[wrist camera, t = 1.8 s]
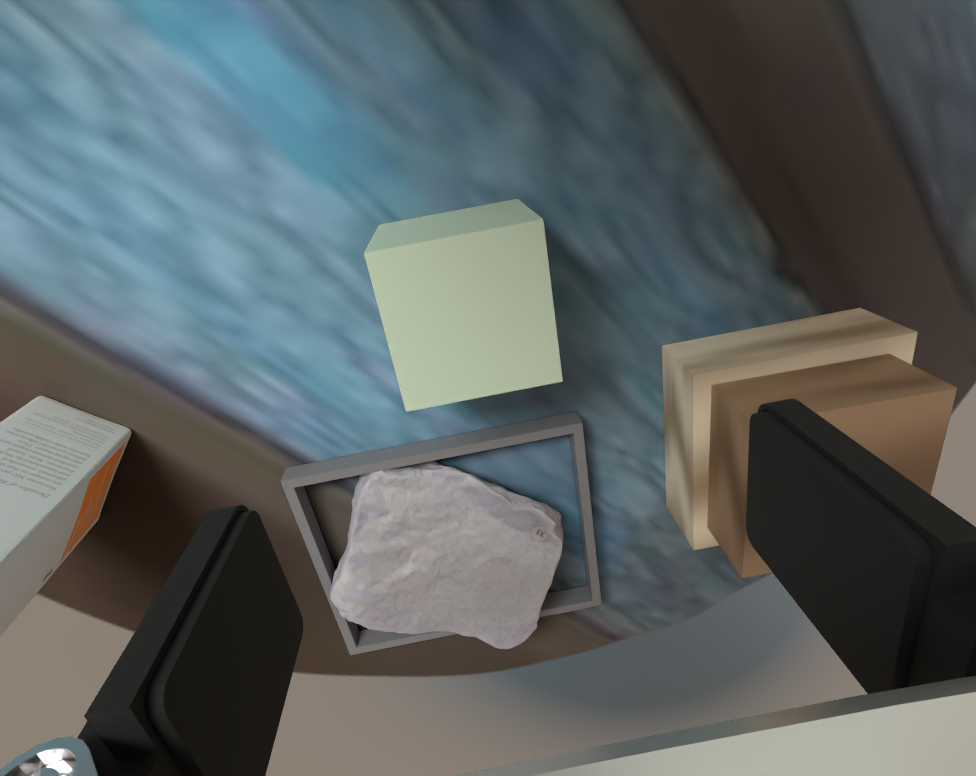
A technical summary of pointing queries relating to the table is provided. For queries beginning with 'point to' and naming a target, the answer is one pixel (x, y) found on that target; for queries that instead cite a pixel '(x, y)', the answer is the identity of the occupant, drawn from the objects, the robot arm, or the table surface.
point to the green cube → (466, 303)
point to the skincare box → (49, 492)
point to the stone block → (446, 555)
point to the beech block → (742, 358)
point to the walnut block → (842, 402)
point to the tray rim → (432, 451)
